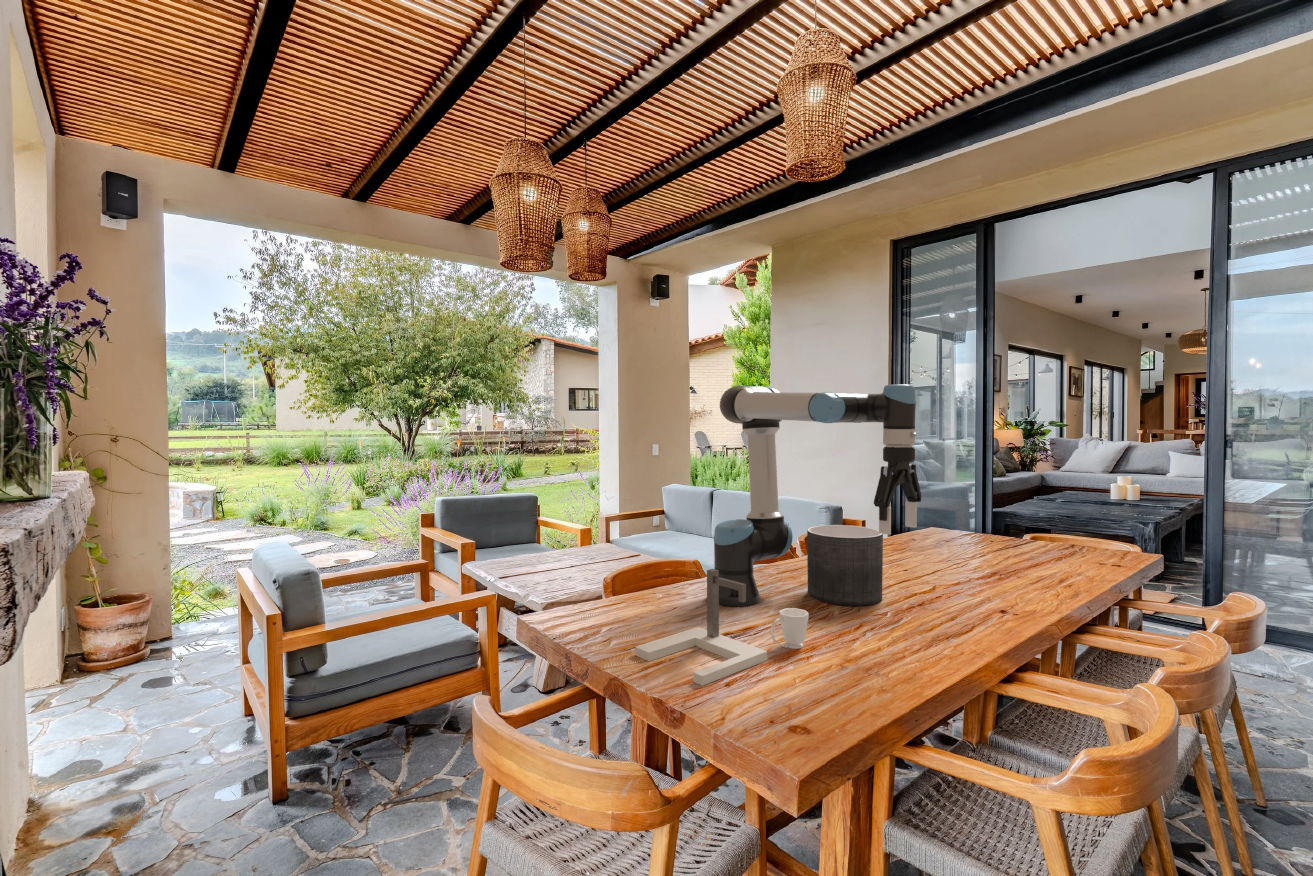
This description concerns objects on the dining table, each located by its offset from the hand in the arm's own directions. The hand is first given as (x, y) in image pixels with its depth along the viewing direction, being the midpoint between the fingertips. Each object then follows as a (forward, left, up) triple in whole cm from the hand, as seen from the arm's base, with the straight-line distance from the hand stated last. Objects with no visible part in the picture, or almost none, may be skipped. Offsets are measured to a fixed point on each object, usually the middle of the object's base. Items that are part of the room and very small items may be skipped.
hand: (898, 530), depth 155 cm
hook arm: (-21, -41, -24) cm, 52 cm away
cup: (-12, -28, -26) cm, 41 cm away
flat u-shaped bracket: (-21, -49, -26) cm, 60 cm away
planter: (-27, +19, -26) cm, 42 cm away
